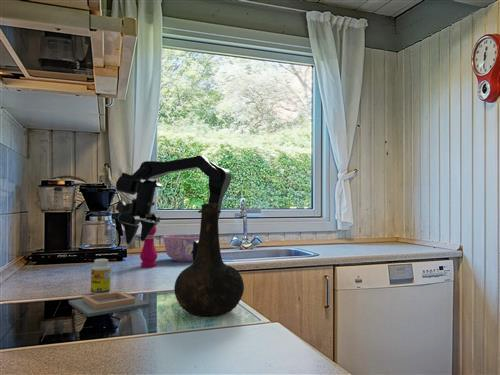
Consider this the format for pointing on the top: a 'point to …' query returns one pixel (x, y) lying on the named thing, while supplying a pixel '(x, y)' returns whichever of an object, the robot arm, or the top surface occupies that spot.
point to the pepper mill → (149, 251)
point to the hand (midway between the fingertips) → (135, 242)
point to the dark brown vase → (209, 274)
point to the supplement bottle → (100, 277)
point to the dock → (107, 303)
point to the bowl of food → (180, 246)
